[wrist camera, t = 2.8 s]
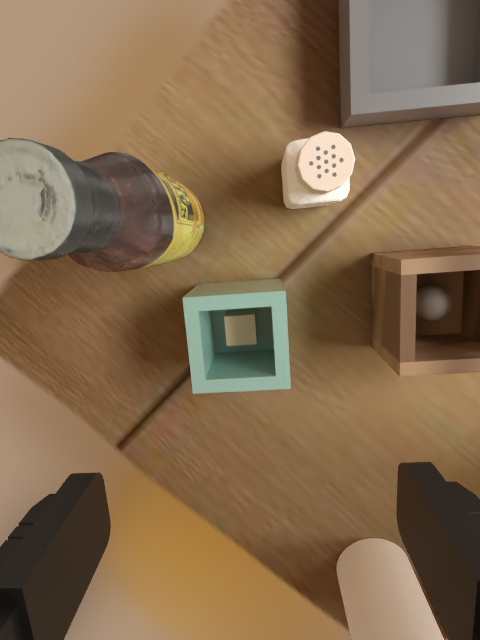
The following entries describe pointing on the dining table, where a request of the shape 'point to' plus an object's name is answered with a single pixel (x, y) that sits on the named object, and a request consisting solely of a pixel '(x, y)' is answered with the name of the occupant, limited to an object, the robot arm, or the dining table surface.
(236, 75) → the dining table surface
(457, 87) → the caddy
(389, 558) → the cylindrical container
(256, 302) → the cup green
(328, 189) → the salt shaker
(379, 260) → the cubby walnut
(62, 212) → the sauce bottle
